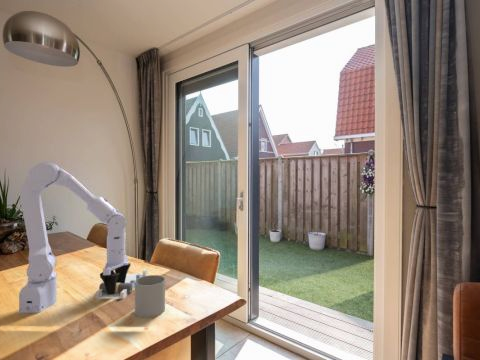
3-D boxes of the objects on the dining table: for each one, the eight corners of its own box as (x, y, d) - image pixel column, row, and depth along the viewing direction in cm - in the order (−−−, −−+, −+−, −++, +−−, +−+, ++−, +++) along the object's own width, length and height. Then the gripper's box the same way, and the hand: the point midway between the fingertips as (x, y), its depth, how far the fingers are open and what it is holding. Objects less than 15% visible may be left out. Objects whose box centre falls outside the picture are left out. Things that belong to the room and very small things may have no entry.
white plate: (123, 302, 91) (123, 290, 91) (94, 301, 91) (94, 290, 91) (147, 276, 115) (147, 267, 115) (124, 276, 115) (125, 267, 115)
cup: (154, 305, 89) (154, 273, 89) (170, 313, 84) (171, 279, 84) (129, 315, 83) (129, 280, 83) (145, 324, 77) (145, 287, 77)
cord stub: (132, 290, 98) (132, 281, 98) (129, 294, 95) (129, 284, 95) (103, 290, 98) (103, 281, 98) (98, 294, 95) (98, 284, 95)
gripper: (119, 255, 89) (118, 298, 89) (135, 244, 103) (135, 281, 104) (96, 254, 89) (96, 298, 89) (116, 244, 103) (116, 281, 104)
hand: (116, 289), depth 96 cm, fingers open, 7 cm apart
